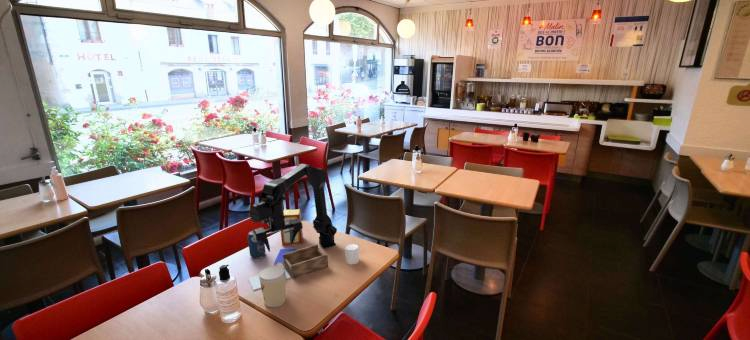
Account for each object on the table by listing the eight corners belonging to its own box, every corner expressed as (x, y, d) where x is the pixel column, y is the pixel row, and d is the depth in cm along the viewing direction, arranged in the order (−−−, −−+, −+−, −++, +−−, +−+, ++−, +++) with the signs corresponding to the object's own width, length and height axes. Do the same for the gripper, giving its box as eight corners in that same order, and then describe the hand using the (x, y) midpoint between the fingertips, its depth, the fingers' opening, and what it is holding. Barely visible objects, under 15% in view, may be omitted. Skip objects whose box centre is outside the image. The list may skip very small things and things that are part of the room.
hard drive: (292, 262, 152) (297, 248, 164) (273, 263, 152) (280, 248, 164) (292, 265, 152) (297, 251, 164) (273, 266, 152) (280, 251, 164)
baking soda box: (302, 237, 176) (300, 208, 172) (301, 243, 170) (299, 213, 166) (283, 239, 175) (280, 209, 171) (282, 245, 169) (278, 215, 164)
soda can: (263, 259, 157) (259, 235, 154) (247, 259, 157) (244, 235, 154) (267, 251, 164) (265, 228, 160) (253, 251, 164) (250, 228, 160)
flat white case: (284, 269, 150) (282, 259, 148) (291, 279, 142) (289, 268, 141) (248, 280, 142) (246, 270, 141) (253, 292, 135) (252, 281, 133)
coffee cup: (265, 293, 133) (261, 265, 129) (290, 291, 134) (287, 264, 130) (259, 309, 124) (255, 280, 120) (286, 307, 125) (282, 278, 121)
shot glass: (363, 260, 154) (362, 246, 152) (352, 266, 149) (351, 252, 147) (352, 255, 158) (352, 241, 156) (341, 261, 154) (340, 247, 152)
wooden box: (318, 256, 158) (317, 244, 157) (328, 267, 149) (327, 254, 148) (284, 266, 150) (282, 254, 149) (292, 279, 141) (291, 266, 140)
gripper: (292, 201, 148) (295, 234, 153) (247, 211, 139) (252, 246, 144) (301, 210, 139) (304, 244, 144) (254, 221, 130) (259, 258, 135)
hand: (280, 248), depth 142 cm, fingers open, 9 cm apart
